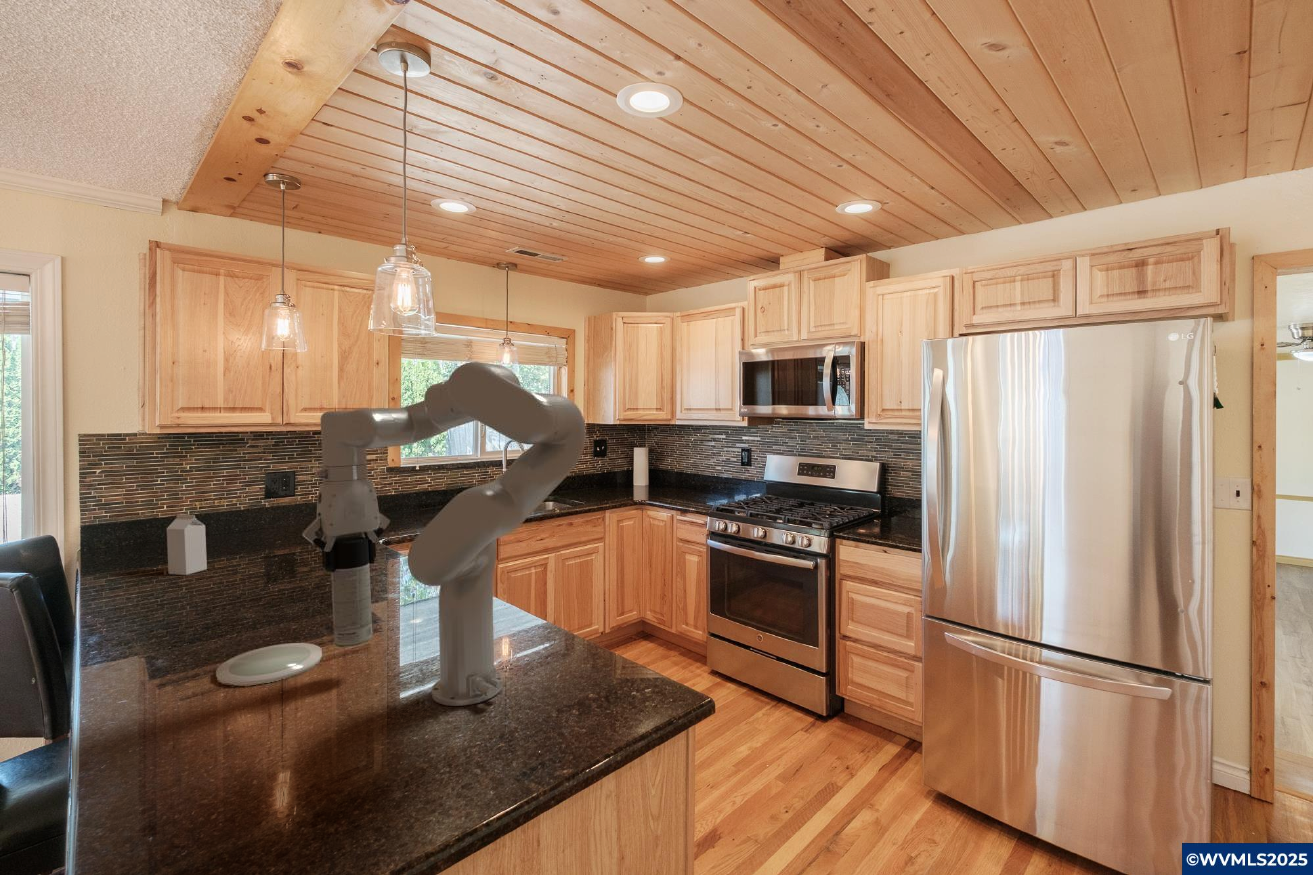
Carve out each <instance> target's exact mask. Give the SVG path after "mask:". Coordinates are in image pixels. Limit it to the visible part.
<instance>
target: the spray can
mask: <svg viewBox="0 0 1313 875" xmlns="http://www.w3.org/2000/svg"><path fill="white" fill-rule="evenodd" d="M332 550H333V551H335V565H336V571H335V572H330V578H331V579H330V582H331V599H332V600H331V601H332V620H333V638H334V639H333V641H334V645H335V646H336V647H338V648H339V647H340V648H344V647H345V648H346V647H347V648H348V647H350V648H351V647H355V646H358V645H362V644H365V643H367V642H368V641H371V640H372V637H373V616H372V613H373V612H372V596H371V573H370V572H371V571H370V569H371V568H370V563H369V550H368V539H367V538H365V537H364V536H363V535H362V536H361V535H355V536H353V535H352V536H342V537H339V538H338V537H337V538H336V539H335V541H334V544H333V546H332Z"/></svg>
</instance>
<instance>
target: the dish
mask: <svg viewBox="0 0 1313 875" xmlns="http://www.w3.org/2000/svg"><path fill="white" fill-rule="evenodd" d="M321 658H323V650H322V648H321V647H320V646H318V645H317V644H313V643H306V642H295V643H294V642H293V643H292V642H291V643H281V644H274V645H269V646H264V647H259V648H257V649H252V650H249V651H247V652H243V653H241V654H238V655H236V656H234V657H231V658H230V659H228V660H226V661H224V662H223V663H221V664H220V665H219V666H218V667H217V669H216V671H215V677H217V679H218V680H219V681H222V682H224V683H229V684H233V685H255V684H260V683H268V684H271V683H270V682H273V683H275V682H274V681H277V682H279V681H278V680H281V679H284V680H287V679H286V678H288V677H291V678H293V677H292V676H294V677H295V675H296V676H298V674H299V675H301V674H303V673H306V672H307V671H309V670H312V669H313V668H314V667H316V666H317V665H319V663H320V662H321V661H322V659H321ZM320 660H321V661H320ZM316 664H317V665H316ZM305 671H306V672H305ZM288 679H289V678H288ZM281 681H282V680H281Z"/></svg>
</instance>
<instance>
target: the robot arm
mask: <svg viewBox="0 0 1313 875" xmlns="http://www.w3.org/2000/svg"><path fill="white" fill-rule="evenodd" d="M423 397H424V398H423V400H422V401H419V402H415V403H413V404H410V405H407V406H404V407H398V408H396V407H393V408H392V407H378V408H377V407H373V408H372V407H371V408H370V407H369V408H367V407H365V408H358V409H355V410H354V409H353V410H329V411H325V412H323V413H322V414H321V417H320V436H321V439H320V440H321V456H322V467H321V470H317V471H315V473H314V476H315V479H320V480H322V482H323V483H320V484H319V488H318V493H317V494H318V495H317V503H316V518H315V519H314V520H313V521H312V523H310V524H309V525H308V527H307V528H305V530H303V532H302V533H301V536H302V537H304V538H305V539H306V540H307V541H308V542H310V543H311V544H312V545H314V546H315V547H317V548H318V549H319V550H321V563H322V568H324V570H325V571H326V572H329V573H331V572H335V571H336V565H335V551H333V550H332V546H333V544H334V541H335V539H337V538H338V537H346V536H349V535H355V534H356V535H357V534H362V537H365V538H367V539H368V550H369V565H372V564H373V565H374V564H375V562H376V560H375V559H376V558H377V550H376V549H377V548H376V547H377V546H376V543H377V542H379V538H380V537H381V536H382V535H383V533H384V531H385V530H386V529H387V527H388V526H389V524H390V522H391V520H390V519H389V518H387V516H385V515H384V514H382V513H381V512H380V510H379V504H378V499H377V493H376V489H375V485H374V481H373V479H368V461H367V460H368V459H367V456H368V455H367V449H370V450H371V449H381V448H390V447H402V446H408V445H411V444H415V443H418V442H421V441H425V440H427V439H430V438H433V437H436V436H438V435H441V434H443V433H445V432H447V431H449V430H450V429H453V428H456V427H460V426H464V425H466V424H469V423H472V422H475V421H477V422H479V423H481V424H483V425H485V426H486V427H488V428H489V429H492V430H494V431H495V432H497V433H499V434H500V435H503V436H504V437H505V438H508V439H509V440H512V441H514V442H516V443H519V444H523V445H530V447H529V448H528V449H526V450H525V451H524V452H523V453H521V454H520V455H519V456H518V457H517V458H516V459H515V460H513V462H512V464H510V466H508V468H507V469H506V470H505V471H504V472H502V474H500V475H499V476H498V477H497V478H496V479H494V480H492V481H491V482H489V483H485V484H479V485H476V486H473V487H469V488H467V489H465V490H463V491H462V492H460V493H458V494H457V495H456V496H454V497H453V498H452V499H451V500H450V501H449V502H448V503H447V504H445V506H444V507H443V508H442V509H441V510H440V511H439V512H438V513H437V514H436V515H435V516H434V517H433V519H432V520H431V521H430V522H429V523H427V525H426V526H425V527H424V528H423V529H422V530H421V531H420V532H419V534H417V536H416V537H415V538H414V539H413V541H412V543H411V545H410V547H409V549H408V554H407V566H408V570H409V572H410V574H411V576H412V577H413V578H414V579H415V580H416V581H417V582H418V583H420V584H422V585H424V586H429V587H439V592H438V634H439V636H438V638H439V640H438V641H439V678H440V679H438V680H437V681H436V682H435V683H434V684H433V685H432V687H431V690H430V691H431V698H432V700H433V701H435V702H436V703H438V704H440V705H443V706H453V707H458V706H459V707H461V706H470V705H475V704H478V703H481V702H482V703H483V702H485V701H487V700H489V699H491V698H493V697H495V696H496V695H497V694H498V693H500V692H501V691H502V689H503V686H504V678H503V677H502V675H501V674H500V673H498V672H497V667H496V666H495V654H494V653H495V647H494V645H495V644H494V643H495V642H494V637H495V636H494V574H495V565H496V560H497V553H498V552H497V551H498V550H497V546H498V545H497V539H499V538H501V537H504V536H506V535H508V534H511V533H512V532H514V531H515V530H516V529H518V528H519V527H520V526H521V525H522V524H523V523H524V522H525V520H526V519H527V518H528V517H529V516H530V515H532V513H533V512H534V511H535V510H536V509H537V508H538V507H539V506H541V504H542V503H543V502H544V501H545V500H546V499H547V498H548V497H549V495H550V494H551V493H552V492H553V491H554V490H555V489H556V488H557V487H558V486H559V485H560V484H561V483H562V482H563V481H564V479H566V478H567V477H568V476H569V474H570V473H571V472H572V471H573V469H574V468H575V466H576V465H577V464H578V462H579V460H580V459H581V456H582V454H583V452H584V448H585V445H586V437H587V436H586V434H587V433H586V430H587V429H586V424H585V420H584V416H583V414H582V411H581V410H580V408H579V407H578V405H577V404H576V403H575V402H574V401H572V400H571V399H570V398H568V397H566V396H563V395H559V394H555V393H539V392H533V391H531V390H529V389H526V388H524V387H522V385H521V382H520V379H519V378H518V376H517V375H516V373H514V372H513V371H512V370H511V369H510V368H508V367H506V366H503V365H501V364H500V365H499V364H493V363H488V362H487V363H486V362H481V361H479V362H478V361H470V362H466V363H463V364H461V365H460V366H458V367H457V368H455V369H454V370H453V371H452V373H451V374H450V376H449V378H448V379H446V380H443V381H440V382H437V383H434V384H432V385H430V386H429V387H428V388H427V389H426V391H425V393H424V396H423ZM316 532H317V533H318V534H320V535H322V538H320V537H318V536H317V535H316Z"/></svg>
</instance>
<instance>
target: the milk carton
mask: <svg viewBox="0 0 1313 875" xmlns="http://www.w3.org/2000/svg"><path fill="white" fill-rule="evenodd" d="M206 538H207V536H206V525H205V524H204V523H203V522H201V521H200V520H198V519H197V518H196V515H195V514H176V518H175V519H174V520H173V521H172V522H171V523H170V525H168V527H167V528H166V539H167V540H166V543H167V544H166V546H167V547H166V548H167V569H168V574H169V575H178V576H179V575H181V576H187V575H191V574H194V573H198V572H201V571H206V570H207V569H208V566H207V565H208V564H207V563H208V562H207V542H206V541H207V539H206Z"/></svg>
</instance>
